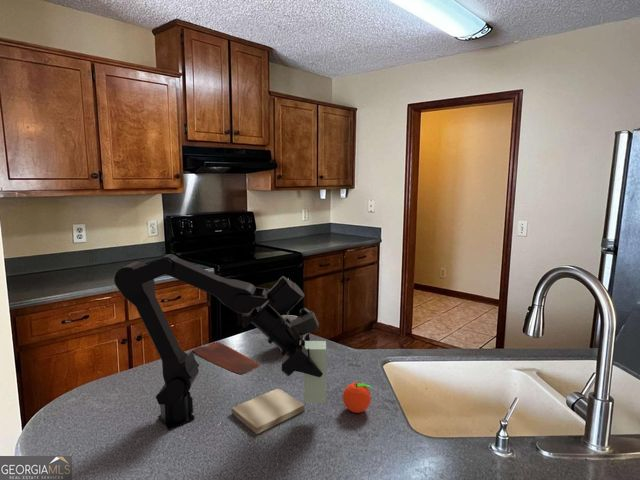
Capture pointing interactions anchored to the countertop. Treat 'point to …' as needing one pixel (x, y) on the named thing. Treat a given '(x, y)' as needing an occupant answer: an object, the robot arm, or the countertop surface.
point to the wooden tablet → (226, 358)
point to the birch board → (267, 410)
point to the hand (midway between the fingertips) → (321, 370)
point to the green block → (313, 384)
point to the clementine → (357, 397)
